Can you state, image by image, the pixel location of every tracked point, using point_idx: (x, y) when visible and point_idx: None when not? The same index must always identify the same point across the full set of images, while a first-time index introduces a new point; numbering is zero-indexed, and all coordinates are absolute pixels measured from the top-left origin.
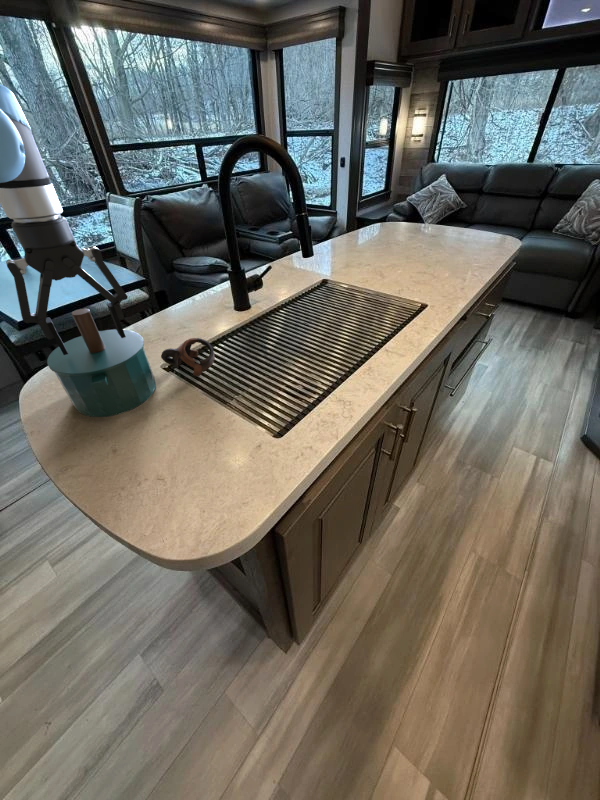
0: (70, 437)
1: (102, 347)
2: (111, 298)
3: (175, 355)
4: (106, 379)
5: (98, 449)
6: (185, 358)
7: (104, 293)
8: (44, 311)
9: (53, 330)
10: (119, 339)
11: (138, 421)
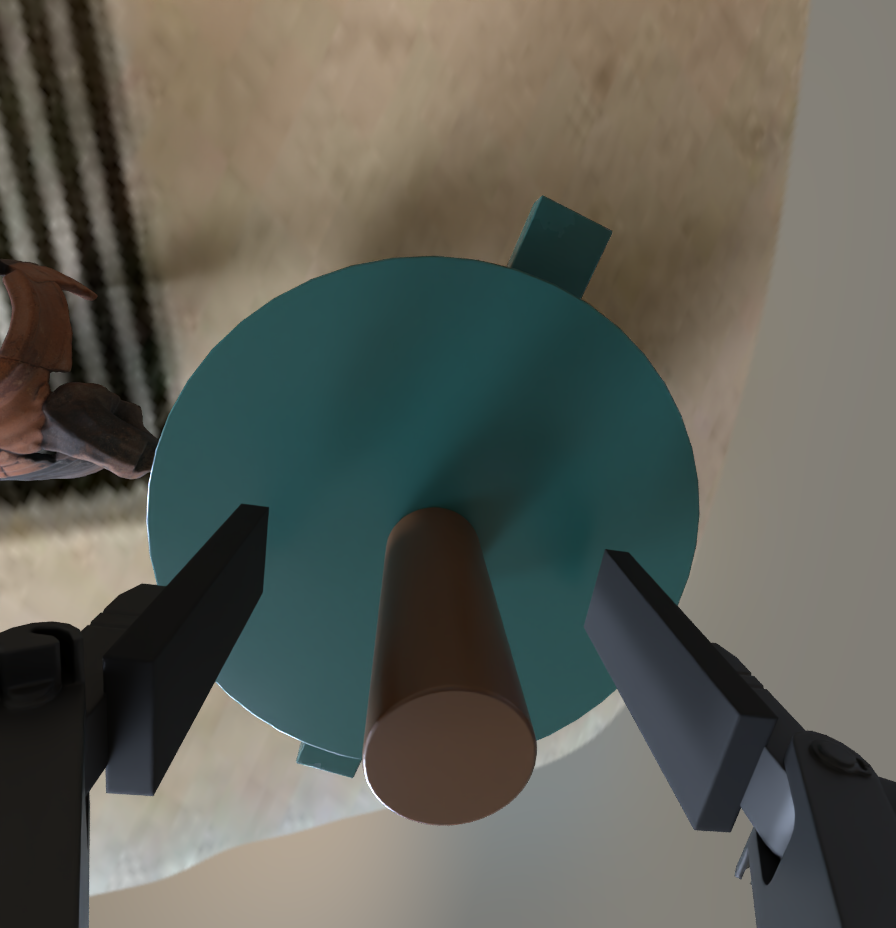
0: (666, 311)
1: (410, 519)
2: (19, 751)
3: (81, 396)
4: (519, 240)
5: (637, 147)
6: (44, 322)
7: (19, 848)
8: (841, 837)
9: (711, 660)
10: (281, 573)
11: (452, 187)
